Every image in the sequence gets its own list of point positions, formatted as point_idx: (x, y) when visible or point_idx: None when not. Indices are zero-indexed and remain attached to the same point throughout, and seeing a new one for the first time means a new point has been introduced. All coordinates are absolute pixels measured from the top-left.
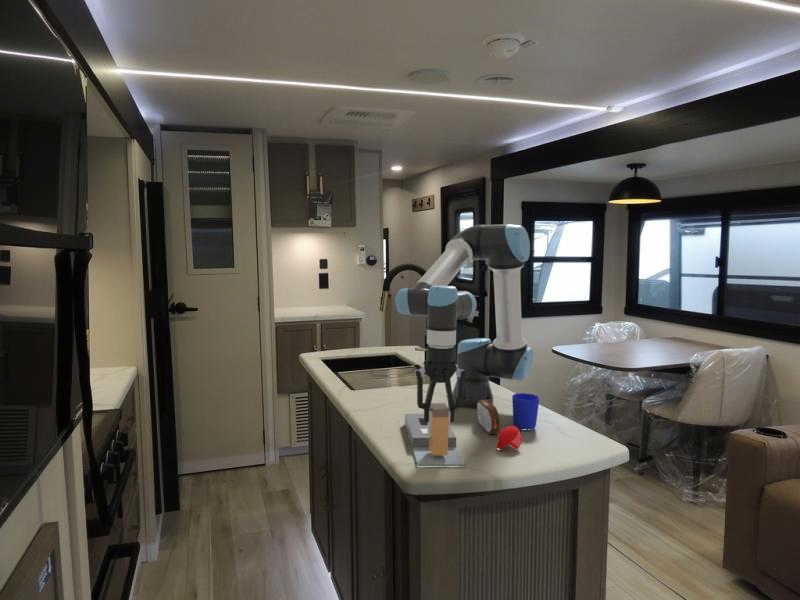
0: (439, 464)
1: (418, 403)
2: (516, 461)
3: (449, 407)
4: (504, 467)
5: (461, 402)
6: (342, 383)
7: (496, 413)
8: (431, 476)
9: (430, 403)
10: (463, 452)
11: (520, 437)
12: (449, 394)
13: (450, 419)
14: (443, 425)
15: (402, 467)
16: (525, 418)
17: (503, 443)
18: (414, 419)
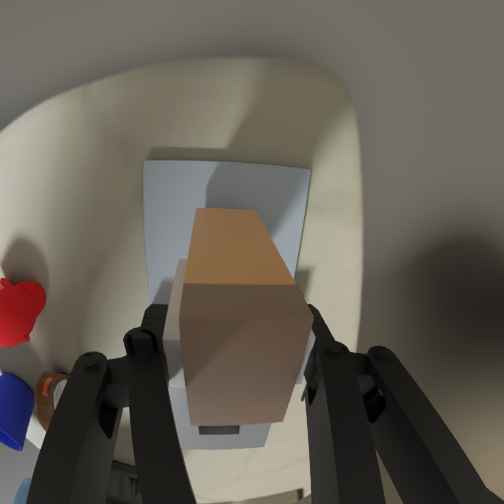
0: (236, 162)
1: (401, 366)
2: (7, 209)
3: (166, 376)
4: (36, 163)
5: (70, 381)
6: (305, 494)
7: (39, 408)
8: (279, 96)
9: (326, 380)
10: (131, 282)
11: None
12: (164, 456)
13: (166, 314)
14: (218, 256)
15: (349, 179)
16: (3, 391)
17: (20, 289)
18: (250, 428)
